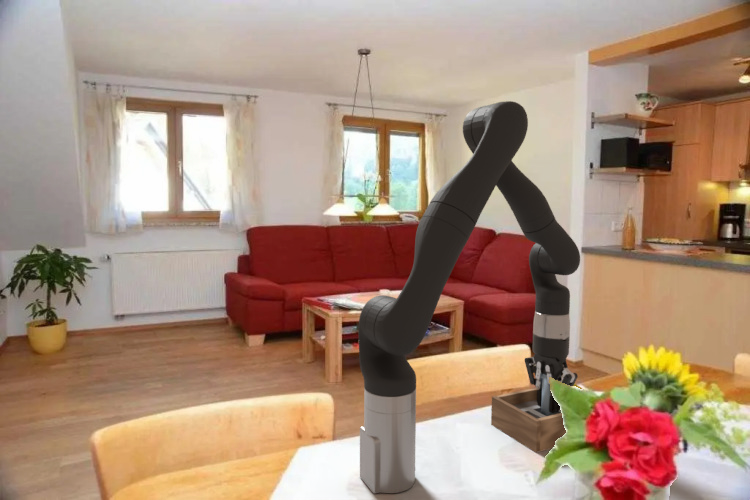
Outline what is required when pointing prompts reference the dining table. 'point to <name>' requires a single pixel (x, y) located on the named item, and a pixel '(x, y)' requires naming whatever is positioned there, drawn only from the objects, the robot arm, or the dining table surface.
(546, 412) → the dowel
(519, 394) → the crate
